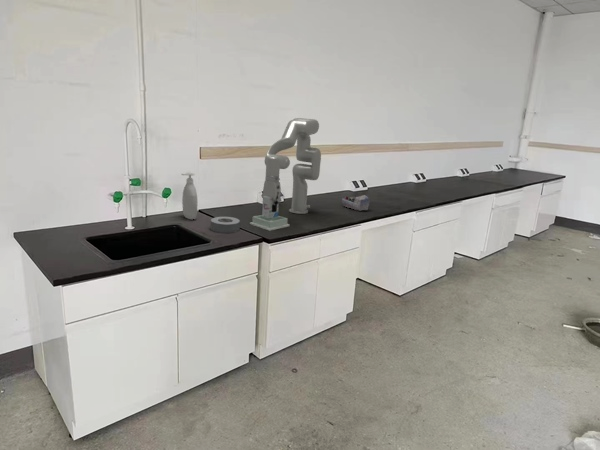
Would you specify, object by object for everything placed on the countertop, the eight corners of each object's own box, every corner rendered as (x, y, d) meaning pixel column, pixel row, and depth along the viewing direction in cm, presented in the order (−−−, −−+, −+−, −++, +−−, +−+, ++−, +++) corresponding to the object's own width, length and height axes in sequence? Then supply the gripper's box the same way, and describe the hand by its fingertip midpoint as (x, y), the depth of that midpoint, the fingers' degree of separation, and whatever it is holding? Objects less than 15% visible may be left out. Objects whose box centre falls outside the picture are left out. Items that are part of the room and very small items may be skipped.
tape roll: (245, 230, 221) (245, 221, 219) (221, 235, 210) (221, 225, 209) (228, 223, 231) (229, 215, 230) (205, 227, 221) (205, 218, 219)
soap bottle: (176, 216, 239) (176, 169, 232) (189, 214, 244) (189, 169, 237) (187, 221, 228) (187, 173, 221) (201, 220, 234) (201, 173, 226)
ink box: (271, 214, 237) (273, 194, 234) (278, 216, 234) (279, 195, 231) (261, 216, 230) (262, 195, 227) (268, 218, 227) (269, 197, 224)
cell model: (361, 197, 278) (339, 192, 292) (359, 212, 281) (338, 207, 295) (373, 195, 286) (352, 191, 301) (372, 210, 289) (351, 205, 303)
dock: (269, 220, 244) (270, 212, 243) (289, 226, 235) (290, 218, 233) (249, 224, 233) (250, 216, 231) (269, 230, 223) (270, 222, 222)
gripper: (288, 180, 224) (286, 213, 229) (266, 176, 235) (264, 207, 239) (278, 181, 219) (276, 214, 223) (256, 177, 229) (255, 208, 234)
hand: (270, 210), depth 231 cm, fingers closed on ink box, 5 cm apart
